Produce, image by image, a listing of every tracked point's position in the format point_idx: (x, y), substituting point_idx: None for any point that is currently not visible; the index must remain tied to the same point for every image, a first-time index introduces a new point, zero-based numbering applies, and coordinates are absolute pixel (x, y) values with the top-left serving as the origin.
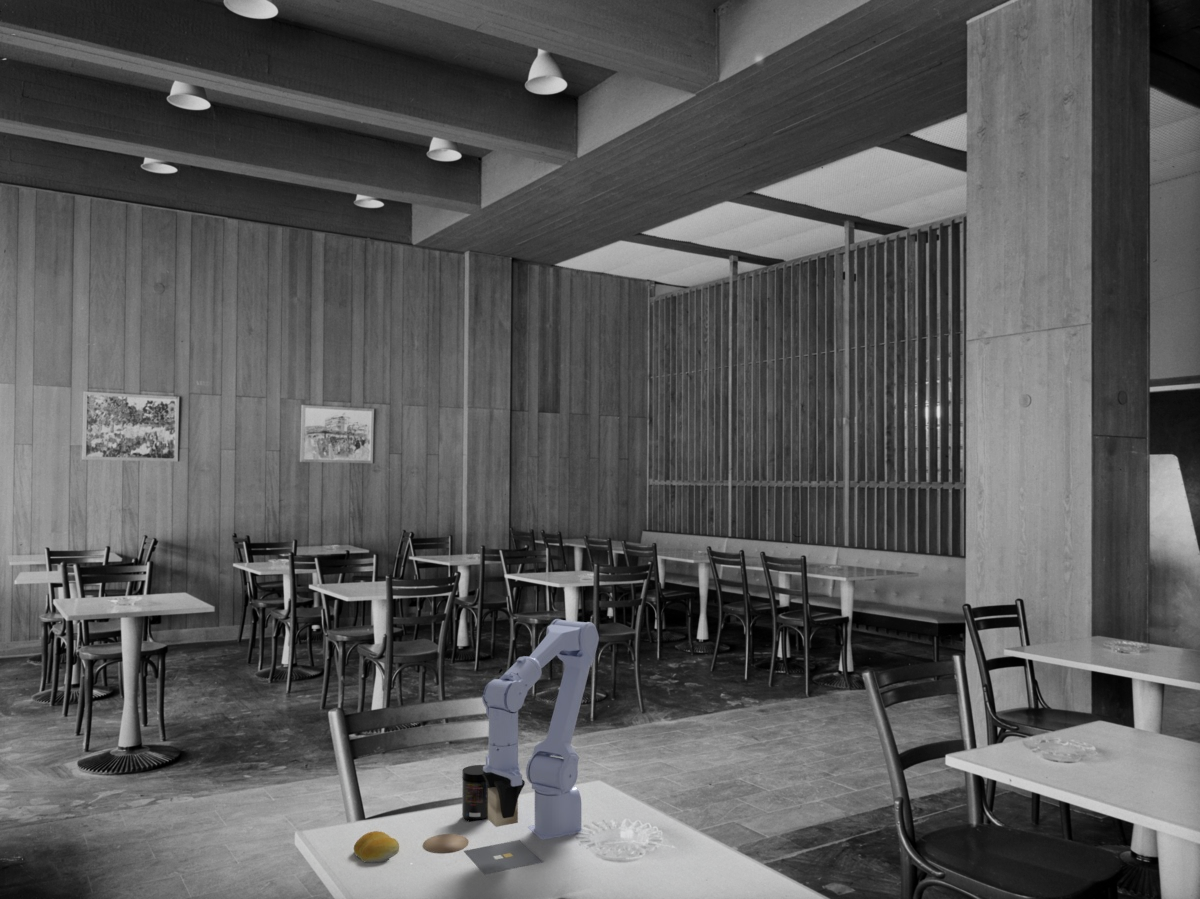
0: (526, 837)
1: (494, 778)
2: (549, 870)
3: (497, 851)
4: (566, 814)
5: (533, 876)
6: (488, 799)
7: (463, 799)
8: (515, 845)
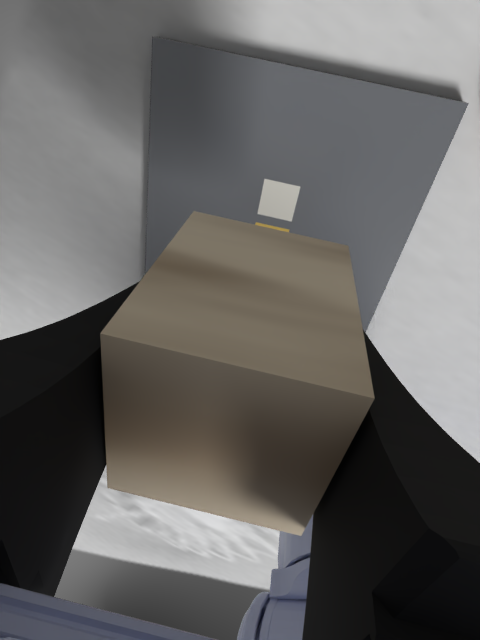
0: None
1: (362, 548)
2: (103, 283)
3: (330, 231)
4: None
5: (81, 218)
6: (341, 319)
7: None
8: None
